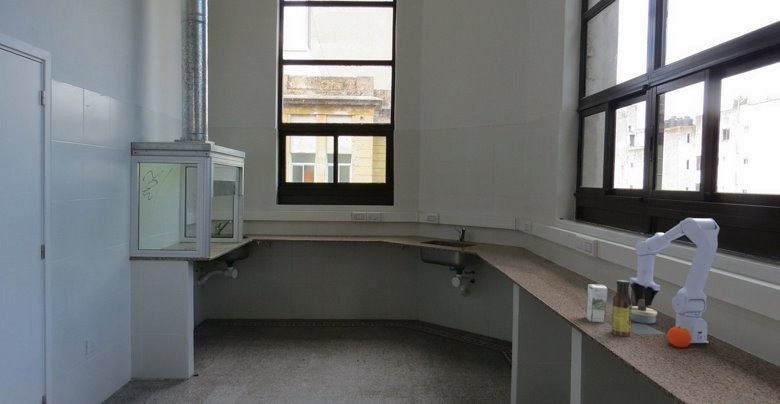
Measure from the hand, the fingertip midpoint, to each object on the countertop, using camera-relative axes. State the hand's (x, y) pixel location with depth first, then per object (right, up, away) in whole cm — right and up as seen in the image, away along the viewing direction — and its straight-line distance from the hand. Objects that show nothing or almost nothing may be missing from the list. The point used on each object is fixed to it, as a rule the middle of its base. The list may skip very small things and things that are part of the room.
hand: (643, 303), depth 181 cm
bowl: (0, -7, 0) cm, 7 cm away
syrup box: (-21, -7, -2) cm, 22 cm away
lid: (0, -4, 0) cm, 4 cm away
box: (+7, -7, +15) cm, 18 cm away
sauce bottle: (-19, -7, -18) cm, 27 cm away
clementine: (-4, -8, -29) cm, 31 cm away
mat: (-8, -7, -12) cm, 16 cm away
